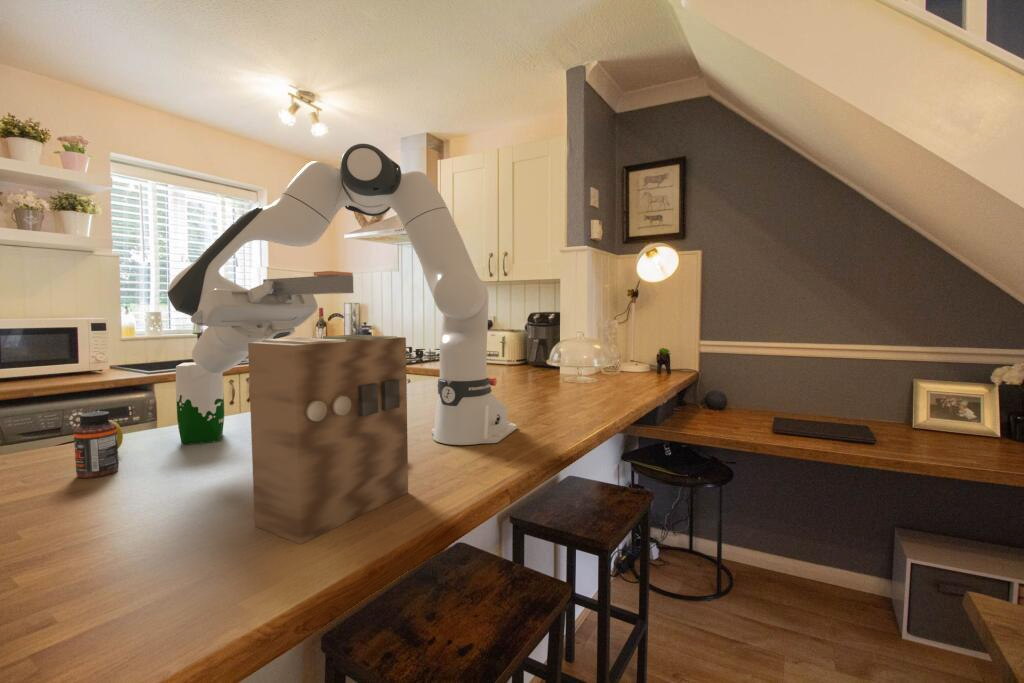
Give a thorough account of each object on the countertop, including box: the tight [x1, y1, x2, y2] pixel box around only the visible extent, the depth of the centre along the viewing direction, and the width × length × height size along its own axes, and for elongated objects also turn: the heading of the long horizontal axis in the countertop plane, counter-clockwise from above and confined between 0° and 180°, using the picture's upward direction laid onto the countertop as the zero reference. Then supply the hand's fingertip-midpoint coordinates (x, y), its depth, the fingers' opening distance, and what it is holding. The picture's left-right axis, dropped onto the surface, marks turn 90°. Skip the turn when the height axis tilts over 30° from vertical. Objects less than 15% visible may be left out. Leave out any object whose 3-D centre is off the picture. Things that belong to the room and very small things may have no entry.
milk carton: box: [175, 361, 225, 445], centre depth 109 cm, size 9×9×20 cm
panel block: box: [247, 334, 409, 545], centre depth 71 cm, size 20×11×26 cm, turn 150°
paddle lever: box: [262, 270, 354, 296], centre depth 80 cm, size 4×20×3 cm, turn 60°
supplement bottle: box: [73, 410, 120, 479], centre depth 87 cm, size 6×6×11 cm
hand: (283, 284), depth 83 cm, fingers closed on paddle lever, 3 cm apart
